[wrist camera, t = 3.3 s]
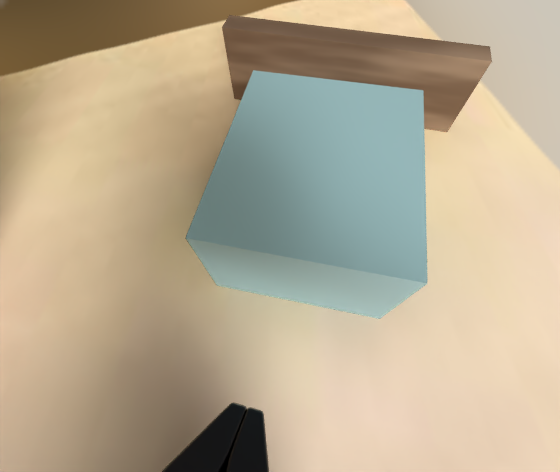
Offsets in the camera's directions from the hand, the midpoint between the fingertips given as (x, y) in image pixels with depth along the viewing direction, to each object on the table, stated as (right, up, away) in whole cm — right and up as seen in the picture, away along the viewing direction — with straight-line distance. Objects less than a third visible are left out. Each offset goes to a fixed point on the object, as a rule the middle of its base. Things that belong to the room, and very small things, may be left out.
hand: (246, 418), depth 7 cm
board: (+7, +18, +23) cm, 30 cm away
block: (+3, +6, +17) cm, 18 cm away
